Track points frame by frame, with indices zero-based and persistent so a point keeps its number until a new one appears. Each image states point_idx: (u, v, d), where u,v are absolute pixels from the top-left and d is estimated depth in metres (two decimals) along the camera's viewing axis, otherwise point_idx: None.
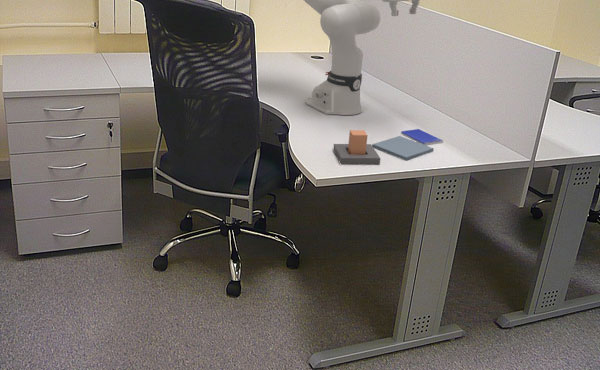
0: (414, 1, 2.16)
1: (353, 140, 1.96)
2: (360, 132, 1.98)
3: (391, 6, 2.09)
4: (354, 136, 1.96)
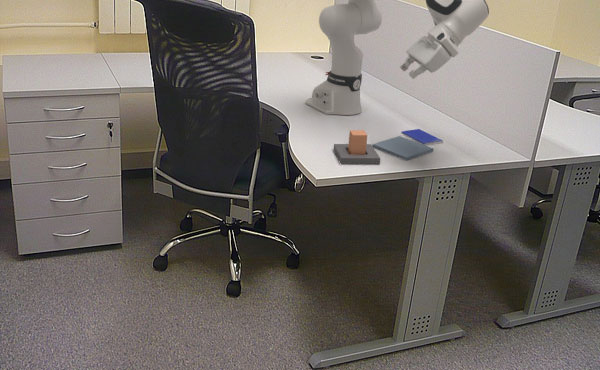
0: (411, 59, 1.96)
1: (353, 140, 1.96)
2: (360, 132, 1.98)
3: (420, 69, 1.86)
4: (354, 136, 1.96)
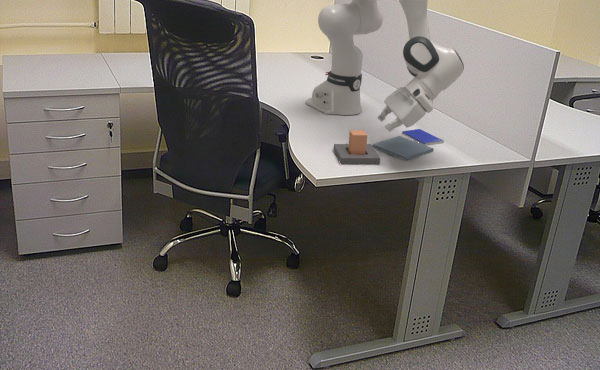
0: (389, 110, 2.02)
1: (353, 140, 1.96)
2: (360, 132, 1.98)
3: (395, 123, 1.92)
4: (354, 136, 1.96)
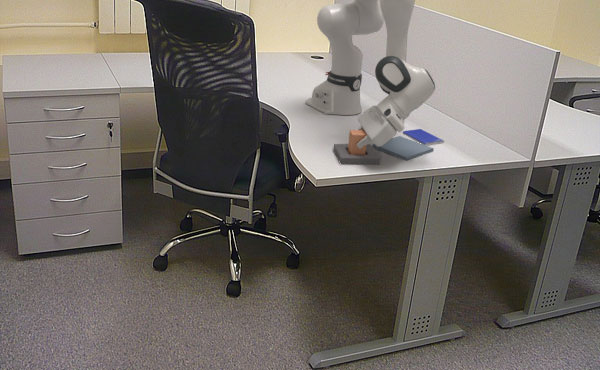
0: None
1: (353, 140, 1.96)
2: (360, 132, 1.98)
3: (365, 140, 1.95)
4: (354, 136, 1.96)
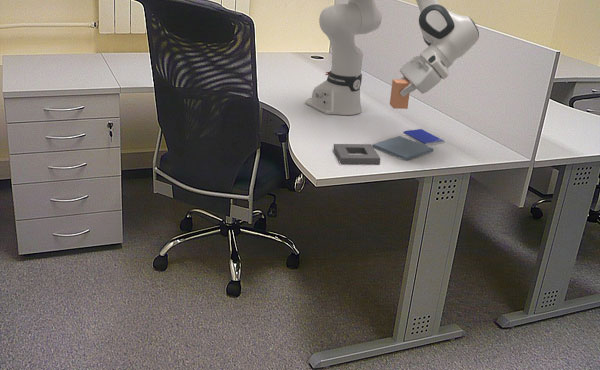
0: None
1: (396, 88, 1.98)
2: (403, 81, 1.99)
3: (409, 88, 1.96)
4: (397, 84, 1.97)
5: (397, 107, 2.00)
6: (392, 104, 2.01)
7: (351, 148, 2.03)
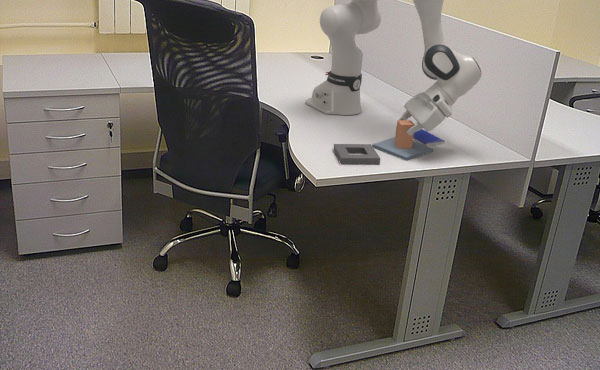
0: (408, 114, 2.11)
1: (401, 129, 2.05)
2: (407, 122, 2.07)
3: (416, 127, 2.01)
4: (402, 126, 2.04)
5: (402, 147, 2.08)
6: (397, 144, 2.08)
7: (351, 148, 2.03)
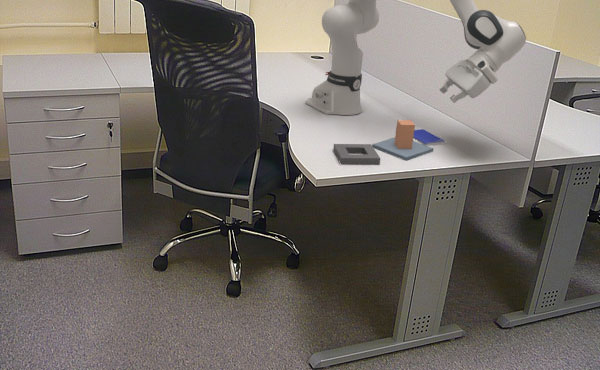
0: (450, 82, 2.09)
1: (401, 129, 2.05)
2: (407, 122, 2.07)
3: (460, 95, 1.99)
4: (402, 126, 2.04)
5: (402, 147, 2.08)
6: (397, 144, 2.08)
7: (351, 148, 2.03)
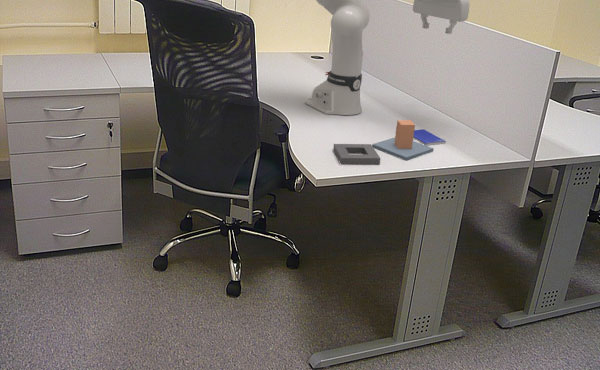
0: (426, 15, 2.20)
1: (401, 129, 2.05)
2: (407, 122, 2.07)
3: (453, 24, 2.13)
4: (402, 126, 2.04)
5: (402, 147, 2.08)
6: (397, 144, 2.08)
7: (351, 148, 2.03)
